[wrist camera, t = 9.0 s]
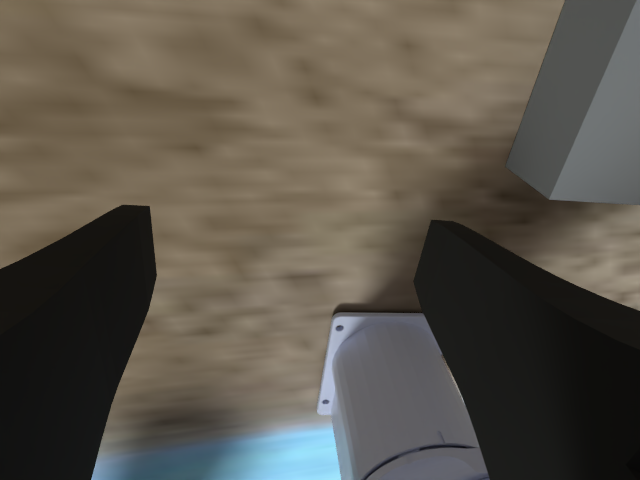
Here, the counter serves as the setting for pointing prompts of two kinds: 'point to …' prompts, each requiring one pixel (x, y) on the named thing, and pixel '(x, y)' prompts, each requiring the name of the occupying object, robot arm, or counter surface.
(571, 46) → the socket block
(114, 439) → the counter surface
